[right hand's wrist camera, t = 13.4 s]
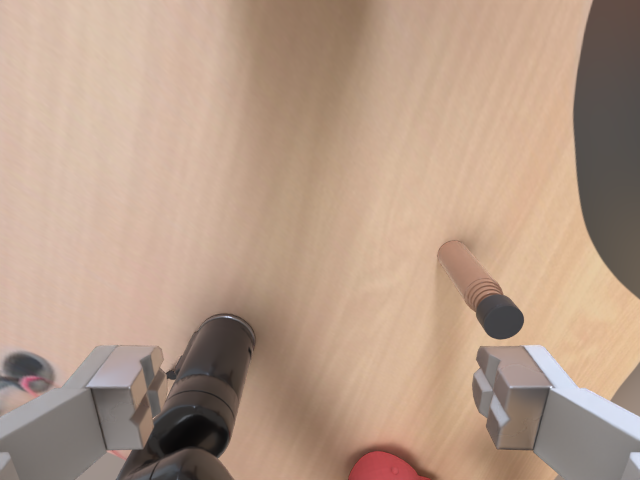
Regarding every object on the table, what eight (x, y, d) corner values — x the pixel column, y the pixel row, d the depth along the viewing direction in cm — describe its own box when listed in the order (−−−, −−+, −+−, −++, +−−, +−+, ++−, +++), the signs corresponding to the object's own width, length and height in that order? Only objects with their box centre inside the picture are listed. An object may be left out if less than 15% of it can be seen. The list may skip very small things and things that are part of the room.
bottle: (473, 255, 62) (531, 322, 45) (448, 273, 63) (496, 345, 46) (456, 234, 61) (509, 295, 44) (431, 253, 62) (473, 319, 45)
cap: (520, 311, 47) (531, 324, 45) (489, 332, 48) (497, 346, 46) (500, 287, 46) (510, 298, 43) (468, 309, 47) (476, 321, 44)
